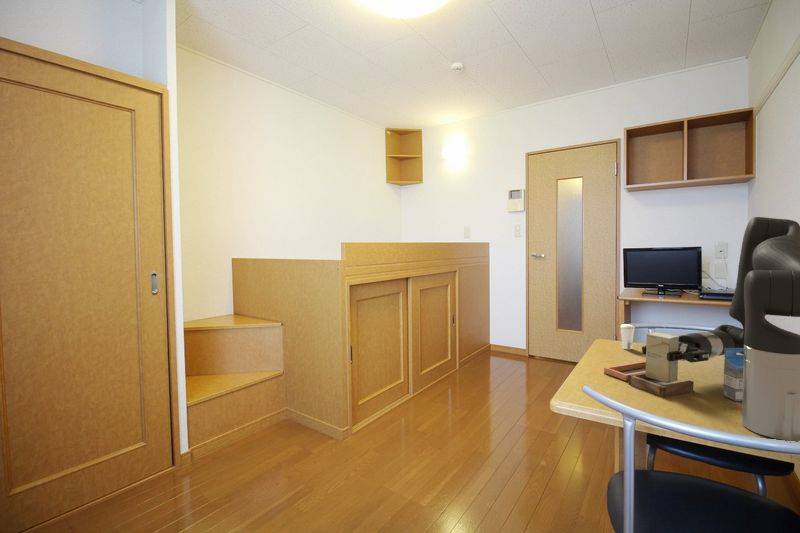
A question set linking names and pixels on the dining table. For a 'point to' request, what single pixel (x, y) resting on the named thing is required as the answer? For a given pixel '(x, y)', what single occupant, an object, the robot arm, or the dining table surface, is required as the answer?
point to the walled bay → (659, 385)
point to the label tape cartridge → (733, 374)
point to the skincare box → (661, 357)
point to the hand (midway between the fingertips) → (655, 353)
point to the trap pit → (625, 370)
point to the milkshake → (627, 336)
